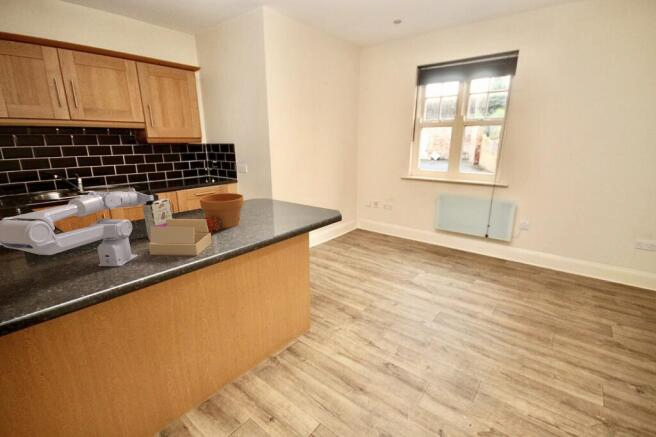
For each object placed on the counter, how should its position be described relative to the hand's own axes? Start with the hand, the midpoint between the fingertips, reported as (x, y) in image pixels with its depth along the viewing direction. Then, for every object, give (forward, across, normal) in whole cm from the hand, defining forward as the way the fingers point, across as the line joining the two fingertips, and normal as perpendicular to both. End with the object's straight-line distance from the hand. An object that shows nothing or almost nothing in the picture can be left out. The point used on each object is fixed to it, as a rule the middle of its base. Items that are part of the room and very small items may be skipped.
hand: (148, 197), depth 119 cm
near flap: (-11, -15, +15) cm, 24 cm away
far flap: (+1, -15, +13) cm, 19 cm away
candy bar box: (+10, +3, +18) cm, 21 cm away
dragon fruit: (+17, -16, +18) cm, 30 cm away
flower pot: (+30, -17, +16) cm, 39 cm away
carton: (-4, -14, +21) cm, 26 cm away
